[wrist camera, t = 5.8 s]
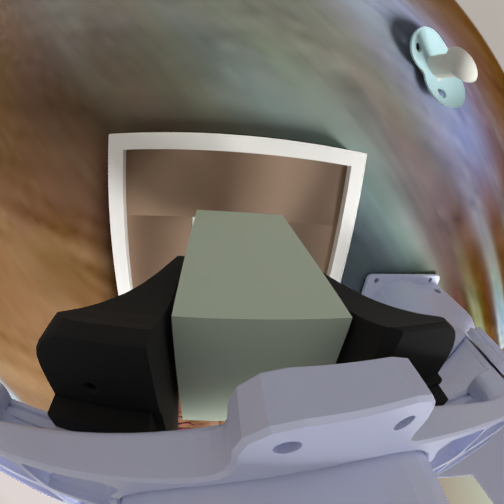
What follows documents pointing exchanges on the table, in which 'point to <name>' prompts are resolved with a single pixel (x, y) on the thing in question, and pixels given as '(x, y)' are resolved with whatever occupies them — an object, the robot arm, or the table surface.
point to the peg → (248, 309)
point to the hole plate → (224, 199)
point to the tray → (232, 144)
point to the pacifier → (442, 66)
